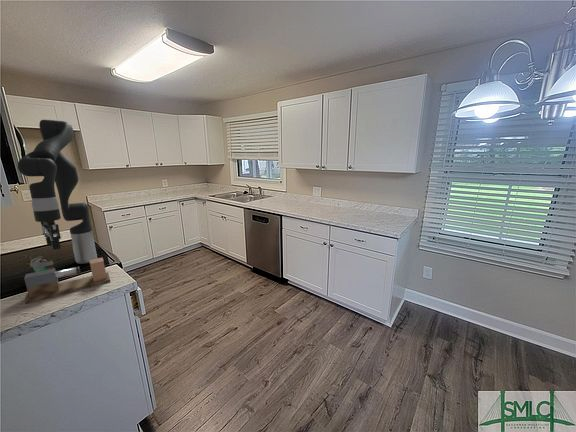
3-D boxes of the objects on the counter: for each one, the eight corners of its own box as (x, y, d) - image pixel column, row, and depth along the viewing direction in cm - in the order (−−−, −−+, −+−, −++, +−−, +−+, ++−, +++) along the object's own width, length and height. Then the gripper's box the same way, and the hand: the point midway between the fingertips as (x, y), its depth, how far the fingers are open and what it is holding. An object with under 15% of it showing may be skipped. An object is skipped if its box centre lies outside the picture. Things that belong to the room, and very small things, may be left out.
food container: (29, 279, 118) (24, 259, 115) (46, 273, 123) (41, 255, 121) (40, 285, 112) (35, 265, 110) (57, 279, 118) (53, 260, 115)
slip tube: (26, 286, 100) (25, 279, 99) (27, 283, 102) (26, 276, 101) (80, 273, 111) (79, 267, 110) (80, 271, 113) (79, 265, 112)
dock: (25, 303, 98) (22, 291, 97) (29, 293, 106) (25, 281, 104) (110, 281, 116) (108, 270, 114) (108, 274, 123) (106, 263, 122)
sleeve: (26, 287, 99) (24, 278, 98) (28, 283, 103) (25, 274, 102) (56, 280, 105) (54, 271, 104) (57, 276, 109) (55, 268, 108)
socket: (93, 281, 113) (90, 263, 111) (93, 277, 117) (89, 260, 115) (106, 278, 117) (103, 261, 114) (105, 274, 121) (102, 257, 118)
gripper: (63, 209, 97) (71, 247, 100) (53, 206, 105) (60, 242, 108) (37, 211, 91) (46, 253, 94) (29, 208, 99) (37, 246, 102)
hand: (53, 247), depth 101 cm, fingers open, 8 cm apart
